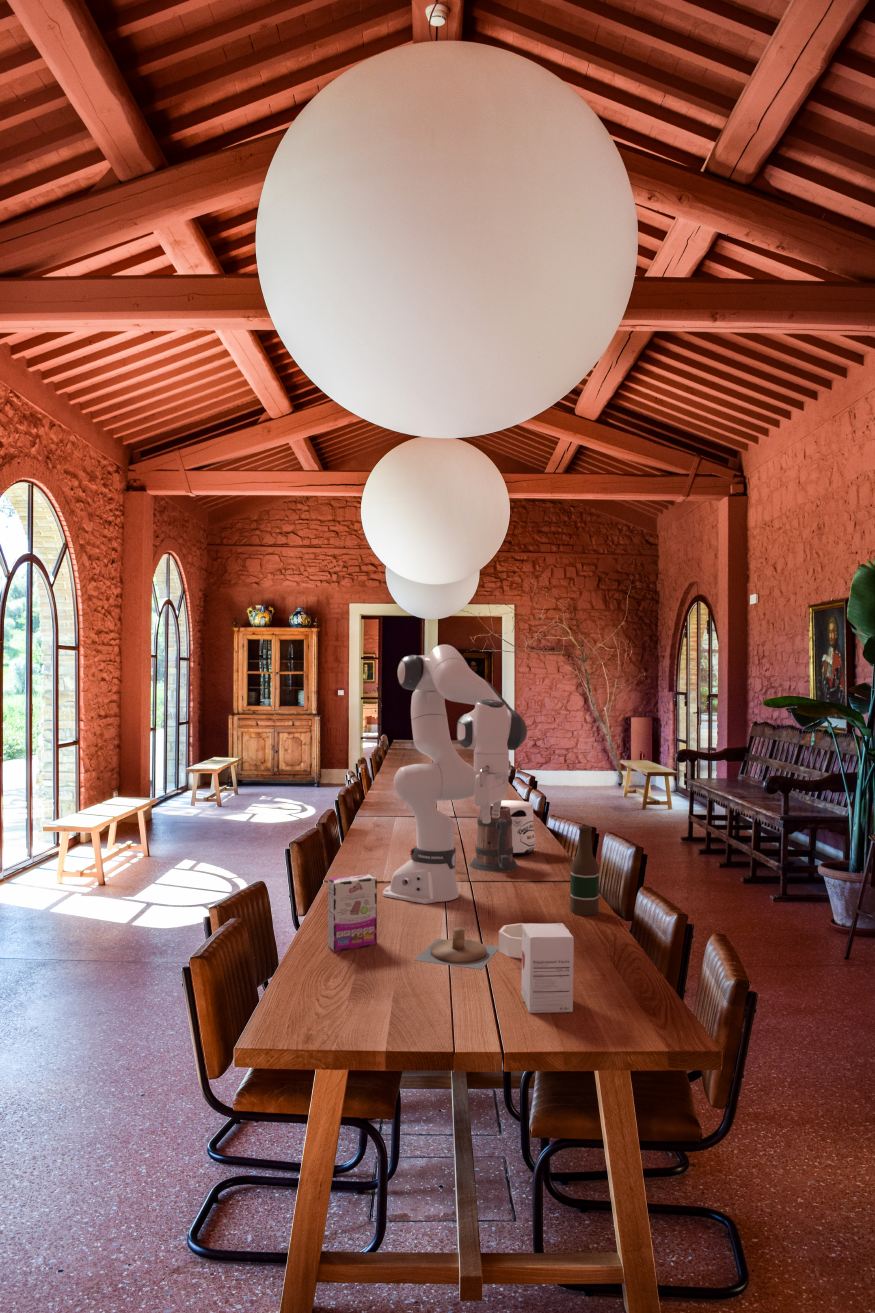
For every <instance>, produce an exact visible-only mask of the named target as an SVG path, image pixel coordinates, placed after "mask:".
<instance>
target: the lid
mask: <svg viewBox="0 0 875 1313" xmlns="http://www.w3.org/2000/svg"><path fill="white" fill-rule="evenodd" d="M465 931H466V929H465V928H464V927H453V928H452V938H450V939H449V938H448V939H444V940H441V941H438V942H435V943H434V944H432V943H431V944H432V945H431V944H430V945H431V955H432V956H433V957H434V958H436V959H438V960H441V961H445V962H450V963H470V962H475V961H479V960H481V959H483V958H484V957H485V956H486V947H485V946H484V945H485V944H483V943H482V942H481V943H480V942H479V941H476V940H472V939H471V940H470V939H466V934H465V933H466V932H465Z"/></svg>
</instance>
